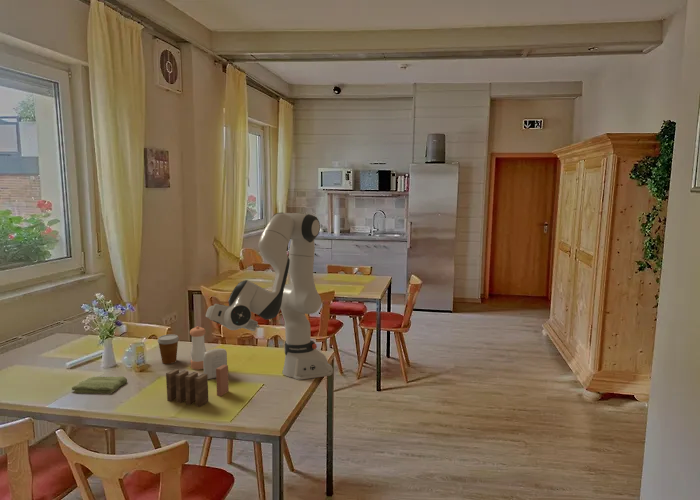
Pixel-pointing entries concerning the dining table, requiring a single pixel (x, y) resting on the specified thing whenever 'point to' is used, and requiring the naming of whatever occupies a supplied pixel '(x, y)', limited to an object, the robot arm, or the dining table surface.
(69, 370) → the dining table surface
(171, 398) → the walnut domino
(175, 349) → the disposable coffee cup
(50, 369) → the dining table surface
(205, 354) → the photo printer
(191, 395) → the walnut domino
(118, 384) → the washcloth
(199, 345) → the pepper shaker
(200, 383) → the walnut domino
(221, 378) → the terracotta domino
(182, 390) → the walnut domino
